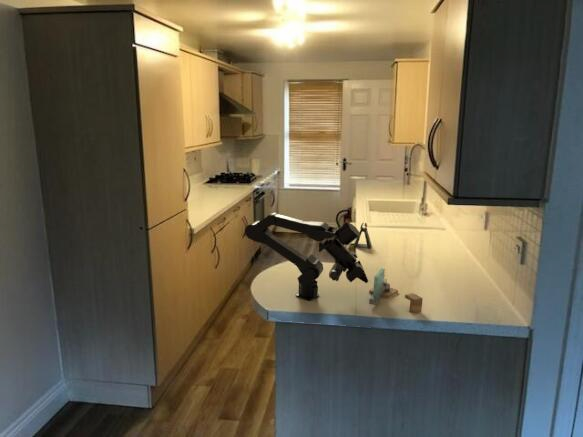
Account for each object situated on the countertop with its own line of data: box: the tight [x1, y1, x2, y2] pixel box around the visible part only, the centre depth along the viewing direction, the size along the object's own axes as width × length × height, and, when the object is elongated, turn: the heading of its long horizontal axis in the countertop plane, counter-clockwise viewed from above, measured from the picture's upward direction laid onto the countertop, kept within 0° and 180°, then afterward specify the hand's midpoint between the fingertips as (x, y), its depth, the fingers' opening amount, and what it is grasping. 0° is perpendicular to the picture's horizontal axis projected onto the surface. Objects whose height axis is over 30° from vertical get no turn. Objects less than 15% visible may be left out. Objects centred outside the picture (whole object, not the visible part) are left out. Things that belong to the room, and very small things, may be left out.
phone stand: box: [353, 222, 372, 249], centre depth 236 cm, size 9×6×12 cm, turn 77°
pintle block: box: [368, 287, 399, 300], centre depth 174 cm, size 8×8×1 cm
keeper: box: [404, 292, 424, 315], centre depth 159 cm, size 5×4×5 cm
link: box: [368, 268, 391, 306], centre depth 167 cm, size 19×4×10 cm, turn 155°
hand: (367, 282), depth 165 cm, fingers closed
